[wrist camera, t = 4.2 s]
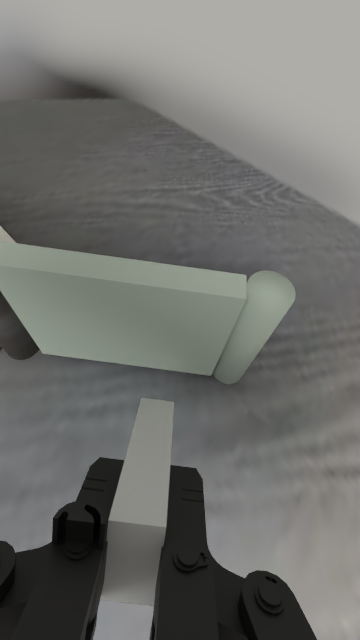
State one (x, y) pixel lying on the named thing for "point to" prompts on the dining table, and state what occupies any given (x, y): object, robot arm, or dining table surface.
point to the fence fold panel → (142, 310)
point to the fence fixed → (14, 333)
